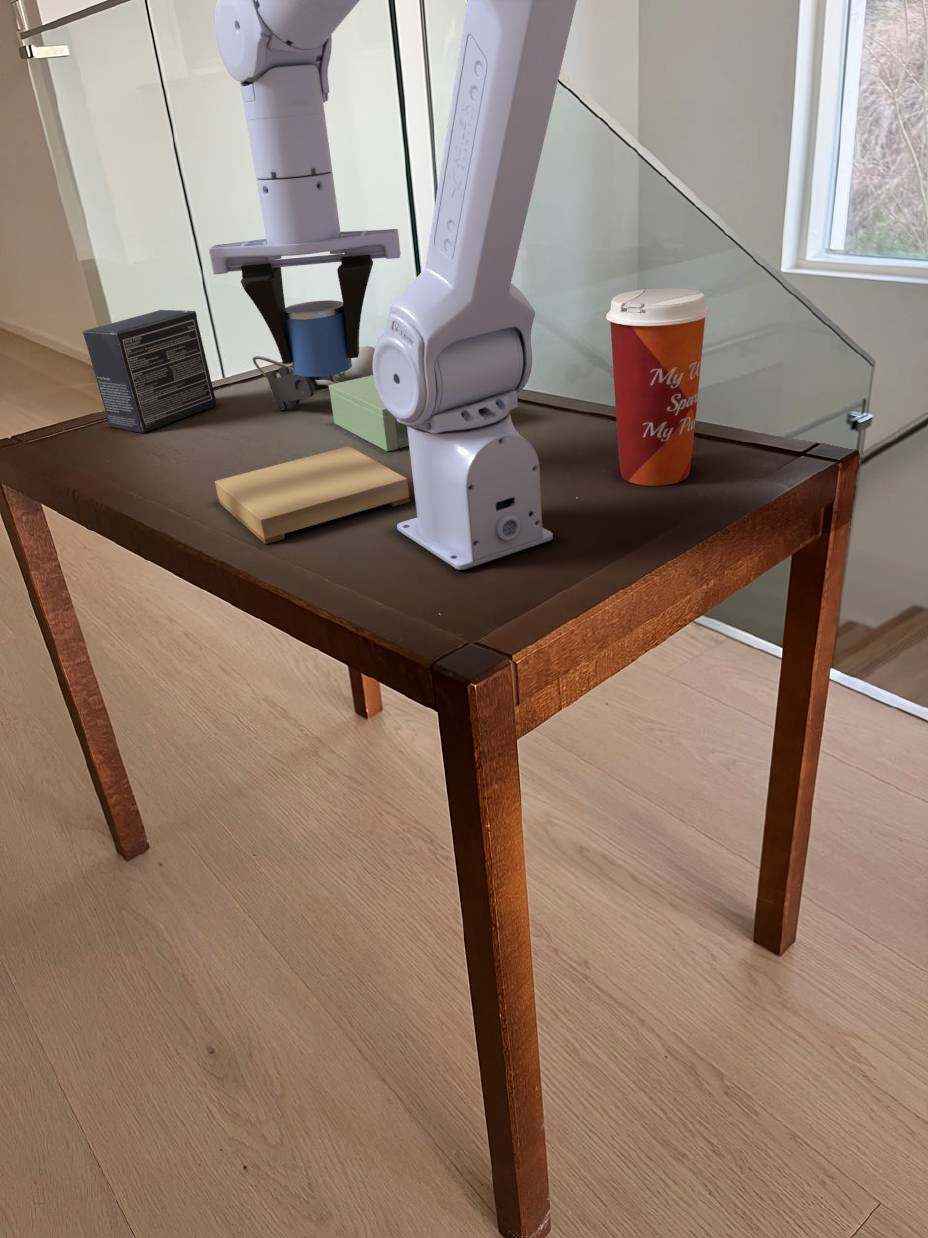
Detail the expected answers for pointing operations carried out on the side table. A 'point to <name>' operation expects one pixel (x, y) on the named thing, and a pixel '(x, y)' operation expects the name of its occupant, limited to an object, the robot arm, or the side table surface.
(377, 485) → the low shelf
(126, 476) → the side table surface
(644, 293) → the paper cup
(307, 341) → the can
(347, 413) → the shelf stand
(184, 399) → the small box
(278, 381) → the clip-on lamp
